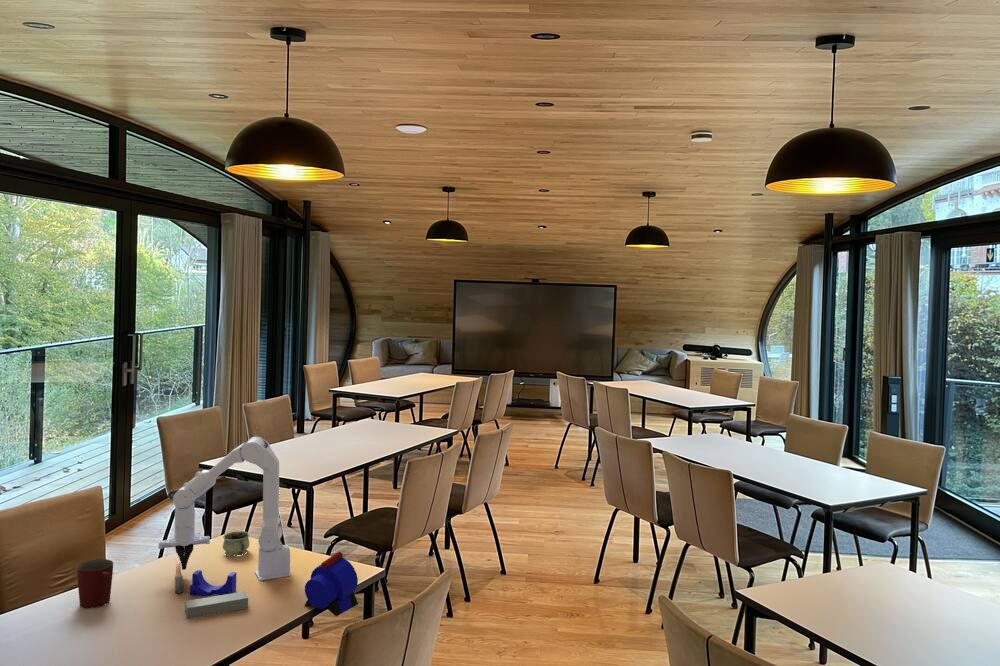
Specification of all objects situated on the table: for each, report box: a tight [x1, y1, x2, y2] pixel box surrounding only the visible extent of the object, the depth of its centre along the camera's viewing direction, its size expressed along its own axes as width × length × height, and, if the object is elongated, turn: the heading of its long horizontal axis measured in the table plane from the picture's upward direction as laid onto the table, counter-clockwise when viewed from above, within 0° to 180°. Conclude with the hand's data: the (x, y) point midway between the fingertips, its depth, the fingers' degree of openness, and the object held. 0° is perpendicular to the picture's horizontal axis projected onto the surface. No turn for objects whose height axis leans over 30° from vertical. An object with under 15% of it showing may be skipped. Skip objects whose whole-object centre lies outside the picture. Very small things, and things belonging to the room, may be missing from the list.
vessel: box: [222, 530, 251, 557], centre depth 247 cm, size 12×9×6 cm
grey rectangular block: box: [184, 590, 249, 620], centre depth 203 cm, size 16×5×3 cm, turn 120°
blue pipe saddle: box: [189, 570, 237, 597], centre depth 214 cm, size 12×4×6 cm, turn 88°
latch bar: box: [174, 559, 184, 594], centre depth 220 cm, size 16×2×4 cm, turn 25°
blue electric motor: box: [304, 551, 359, 617], centre depth 208 cm, size 12×12×15 cm
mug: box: [76, 558, 114, 609], centre depth 203 cm, size 12×9×11 cm
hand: (183, 568), depth 225 cm, fingers closed
